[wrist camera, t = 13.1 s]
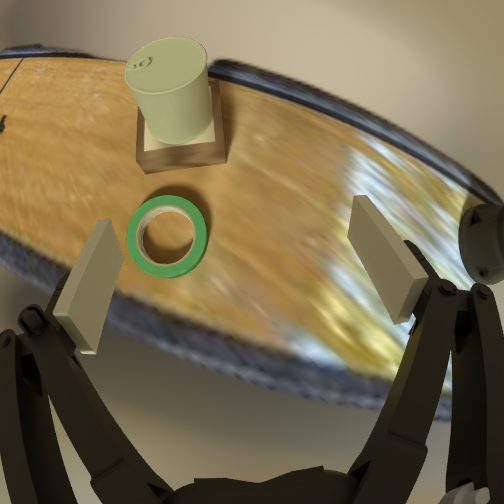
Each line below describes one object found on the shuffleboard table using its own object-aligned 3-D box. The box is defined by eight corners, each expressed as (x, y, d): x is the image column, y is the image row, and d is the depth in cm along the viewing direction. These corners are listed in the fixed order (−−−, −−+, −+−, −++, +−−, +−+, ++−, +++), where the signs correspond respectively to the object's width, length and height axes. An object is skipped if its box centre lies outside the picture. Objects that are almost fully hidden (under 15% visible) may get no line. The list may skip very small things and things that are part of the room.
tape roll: (137, 198, 41) (131, 193, 38) (211, 202, 41) (210, 196, 39) (128, 274, 39) (122, 274, 37) (205, 281, 40) (203, 280, 37)
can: (149, 95, 37) (128, 41, 25) (211, 88, 38) (207, 29, 26) (145, 149, 36) (116, 98, 24) (214, 141, 37) (208, 85, 25)
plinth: (219, 98, 43) (218, 79, 38) (225, 163, 42) (225, 147, 37) (146, 109, 42) (139, 91, 37) (145, 174, 41) (135, 160, 36)
